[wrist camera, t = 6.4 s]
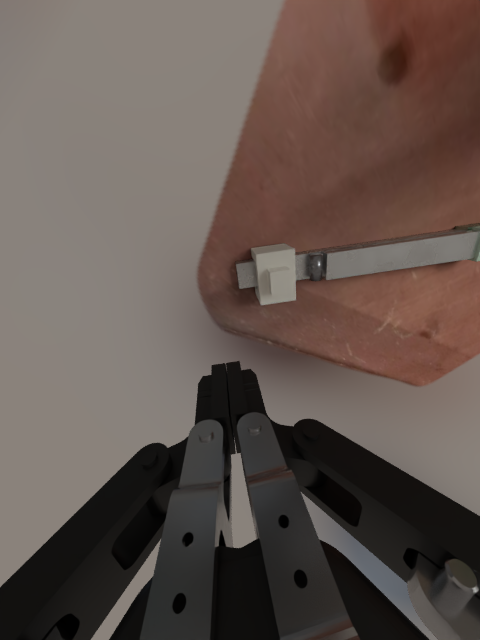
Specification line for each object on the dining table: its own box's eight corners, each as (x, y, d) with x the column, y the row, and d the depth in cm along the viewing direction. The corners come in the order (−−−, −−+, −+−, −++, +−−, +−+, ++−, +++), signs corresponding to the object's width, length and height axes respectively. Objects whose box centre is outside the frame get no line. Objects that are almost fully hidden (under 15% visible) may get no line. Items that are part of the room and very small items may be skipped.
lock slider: (255, 293, 29) (263, 311, 24) (250, 248, 27) (258, 257, 22) (286, 288, 29) (300, 305, 24) (284, 243, 27) (300, 251, 22)
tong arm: (322, 279, 28) (327, 283, 26) (322, 249, 26) (329, 251, 25) (483, 255, 28) (497, 258, 27) (494, 224, 26) (509, 225, 25)
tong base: (238, 287, 29) (240, 295, 26) (234, 258, 28) (236, 264, 25) (475, 252, 30) (502, 256, 27) (485, 222, 28) (514, 223, 25)
